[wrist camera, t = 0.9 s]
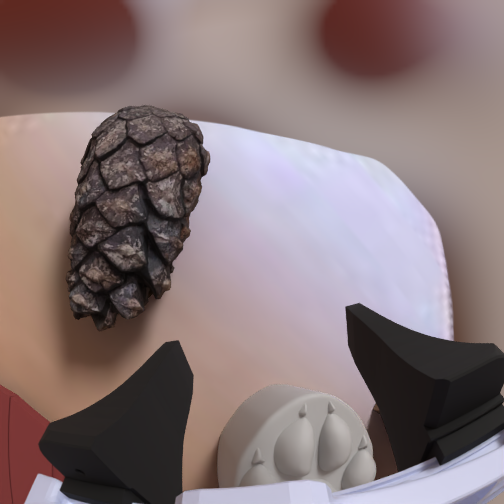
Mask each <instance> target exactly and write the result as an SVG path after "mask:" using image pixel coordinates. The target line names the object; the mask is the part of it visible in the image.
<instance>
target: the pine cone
mask: <svg viewBox="0 0 504 504" xmlns="http://www.w3.org/2000/svg"><path fill="white" fill-rule="evenodd" d="M91 135H92V138H91V139H90V141H89V143H88V145H87V148H86V151H85V154H84V156H83V158H82V160H81V165H82V166H81V171H80V173H79V176H78V178H77V183H78V187H77V188H76V192H75V200H76V202H75V206H74V209H73V211H72V212H71V214H70V221H71V225H70V234H71V236H72V237H73V238H72V241H71V248H70V249H69V252H68V257H69V259H70V260H71V268H72V269H71V270H70V271H69V272H67V276H66V281H67V283H68V291H69V292H70V295H69V299H70V306H71V310H72V311H73V315H74V317H75V319H78V320H79V319H80V318H83V317H87V316H89V315H91V316H92V318H93V321H94V323H95V325H96V327H97V329H98V330H99V331H102V330H105V329H108V328H111V327H114V326H115V321H116V317H117V314H118V313H119V314H120V315H121V316H122V317H124V318H126V319H130V318H134V317H136V316H138V315H139V314H140V313H142V312H143V311H144V306H145V305H146V304H147V303H148V298H149V297H150V296H151V295H152V294H154V296H155V298H156V299H160V298H161V297H162V295H163V293H164V292H165V291H167V290H170V288H171V279H170V273H172V272H173V270H174V267H173V265H172V262H173V261H174V260H175V259H176V258H177V256H178V255H179V254H180V252H181V251H182V250H183V242H184V241H185V239H186V238H187V237H189V236H190V232H191V230H190V229H189V216H190V213H191V212H192V211H193V210H194V208H195V207H196V205H197V203H198V201H199V200H198V198H199V195H200V193H201V189H202V186H201V181H200V180H201V178H202V177H203V176H205V175H206V174H207V171H208V165H209V163H210V154H209V151H206V150H205V149H204V148H203V146H202V144H203V135H202V132H201V130H200V128H199V126H198V124H195V123H191V122H189V119H188V118H187V117H185V116H184V115H182V114H180V113H176V112H169V111H168V110H166V109H159V108H156V107H154V106H147V105H144V106H129V107H125V108H122V109H120V110H119V111H118V112H117V113H115V114H114V115H112V116H110V117H108V118H107V119H105V120H104V121H103V122H102V123H101V125H100V126H99V127H97V128H96V129H95V131H94V132H93V133H92V134H91Z"/></svg>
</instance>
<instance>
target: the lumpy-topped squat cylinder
mask: <svg viewBox="0 0 504 504" xmlns="http://www.w3.org/2000/svg"><path fill="white" fill-rule="evenodd" d="M217 474H218V484H219V488H234V487H246V486H256V485H265V484H273V483H280V482H286V481H297V480H313V481H319V482H323V483H326V485H327V486H328V487H329V488H330V489H331V491H332V493H333V492H337V491H341V490H345V489H349V488H352V487H356V486H359V485H363V484H366V483H369V482H372V481H374V479H375V475H376V464H375V462H374V460H373V448H372V443H371V440H370V437H369V435H368V433H367V431H366V429H365V426H364V425H363V423H362V421H361V419H360V417H359V416H358V415H357V413H356V412H355V411H354V410H353V409H352V408H351V407H350V406H349V405H347V404H346V403H345V402H343V401H342V400H340V399H339V398H337V397H335V396H333V395H330V394H327V393H323V392H318V391H314V390H310V389H306V388H301V387H297V386H292V385H288V384H274V385H270V386H267V387H265V388H263V389H261V390H259V391H258V392H256V393H255V394H253V395H252V396H250V397H249V398H248V399H247V400H245V401H244V402H243V403H242V404H241V405H240V406H239V408H238V409H237V410H236V411H235V413H234V414H233V416H232V417H231V418H230V420H229V421H228V423H227V424H226V426H225V428H224V429H223V431H222V433H221V436H220V440H219V446H218V457H217Z"/></svg>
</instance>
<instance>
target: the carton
mask: <svg viewBox="0 0 504 504" xmlns="http://www.w3.org/2000/svg"><path fill="white" fill-rule="evenodd" d="M49 423H50V422H49V421H48V420H46V419H45V418H44V417H43V416H41V415H40V414H39V413H38V412H37V411H35V410H34V409H33V408H32V407H31V406H29V405H28V404H27V403H26V402H25V401H24V400H23V399H21V398H20V397H19V396H18V395H17V394H15V393H13V392H11V391H10V390H8V389H6V388H5V387H3V386H2V385H0V504H24V503H25V501H26V499H27V496H28V494H29V492H30V490H31V488H32V485H33V483H34V481H35V479H36V477H37V475H38V474H43V475H46V476H49V477H53V478H56V479H58V480H60V481H62V482H63V481H64V478H65V476H64V475H62V474H61V473H60V472H59V471H58V470H57V469H56V468H55V467H54V466H53V465H52V464H51V463H50V462H49V461H48V460H47V459H46V458H45V457H44V455H43V454H42V453H41V451H40V449H39V445H38V443H39V441H40V439H41V437H42V436H43V434H44V432H45V430H46V428H47V427H48V425H49Z"/></svg>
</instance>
